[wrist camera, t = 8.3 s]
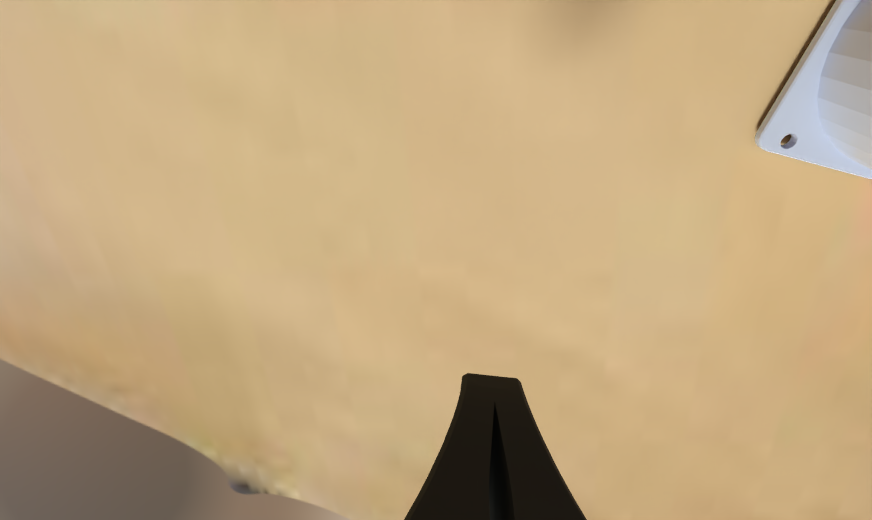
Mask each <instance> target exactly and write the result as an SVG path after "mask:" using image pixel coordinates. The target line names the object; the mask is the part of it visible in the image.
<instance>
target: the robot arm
mask: <svg viewBox="0 0 872 520" xmlns="http://www.w3.org/2000/svg"><path fill="white" fill-rule="evenodd" d="M788 134H791V138H790V140H789V141H788V142H787V143H786V144H784V145H781V144H780V143H781V140H782V139H783V138H784V137H785V136H786V135H788ZM755 143H756V144H757V146H758V147H760V148H762V149H764V150H765V151H768V152H772V153H776V154H779V155H783V156H787V157H791V158H794V159H798V160H802V161H805V162H809V163H813V164H817V165H820V166H824V167H828V168H831V169H835V170H839V171H842V172H846V173H850V174H854V175H857V176H861V177H865V178H868V179H872V0H836V1H835V3H834V5H833V6H832V8H831V10H830V11H829V13H828V15H827V16H826V18H825V20H824V21H823V23H822V25H821V26H820V28H819V29H818V31H817V33H816V34H815V36H814V38H813V39H812V41H811V43H810V44H809V46H808V48H807V49H806V51H805V53H804V54H803V56H802V58H801V59H800V61H799V63H798V64H797V66H796V68H795V69H794V71H793V73H792V74H791V76H790V77H789V79H788V81H787V82H786V84H785V86H784V87H783V89H782V91H781V92H780V94H779V96H778V97H777V99H776V101H775V102H774V104H773V106H772V107H771V109H770V111H769V112H768V114H767V116H766V117H765V119H764V121H763V122H762V124H761V126H760V127H759V129H758V130H757V133H756V135H755ZM404 520H587V519H586V518H585V516H584V515H583V513H582V511H581V510H580V508H579V506H578V504H577V503H576V501H575V499H574V498H573V496H572V494H571V492H570V491H569V489H568V487H567V485H566V483H565V481H564V480H563V478H562V476H561V474H560V472H559V470H558V468H557V466H556V465H555V463H554V461H553V459H552V456H551V454H550V452H549V450H548V448H547V446H546V444H545V442H544V440H543V438H542V436H541V434H540V431H539V429H538V427H537V424H536V422H535V420H534V417H533V415H532V413H531V410H530V408H529V405H528V402H527V400H526V397H525V394H524V391H523V388H522V385H521V382H520V381H519V380H518V379H517V378H508V377H498V376H489V375H479V374H470V373H467V374H465V375H464V376H462V383H461V391H460V396H459V400H458V404H457V407H456V410H455V413H454V416H453V419H452V422H451V424H450V427H449V430H448V432H447V435H446V437H445V440H444V443H443V445H442V447H441V449H440V452H439V454H438V456H437V458H436V460H435V462H434V464H433V466H432V469H431V471H430V473H429V475H428V477H427V479H426V481H425V483H424V485H423V487H422V489H421V491H420V492H419V494H418V496H417V498H416V500H415V501H414V503H413V505H412V507H411V509H410V510H409V512H408V514H407V516H406V517H405V519H404Z"/></svg>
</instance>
